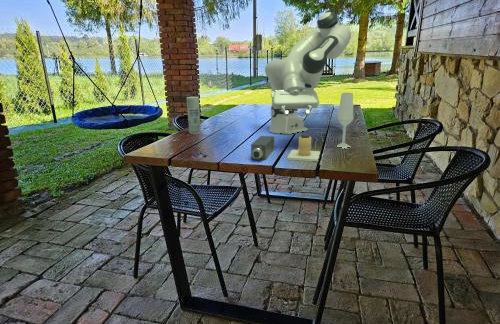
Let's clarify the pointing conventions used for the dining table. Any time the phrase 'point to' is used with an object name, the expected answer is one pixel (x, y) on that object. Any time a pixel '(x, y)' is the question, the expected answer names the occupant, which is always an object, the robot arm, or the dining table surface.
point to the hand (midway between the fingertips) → (297, 115)
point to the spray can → (193, 115)
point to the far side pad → (295, 156)
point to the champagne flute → (345, 114)
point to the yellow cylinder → (304, 145)
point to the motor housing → (262, 147)
